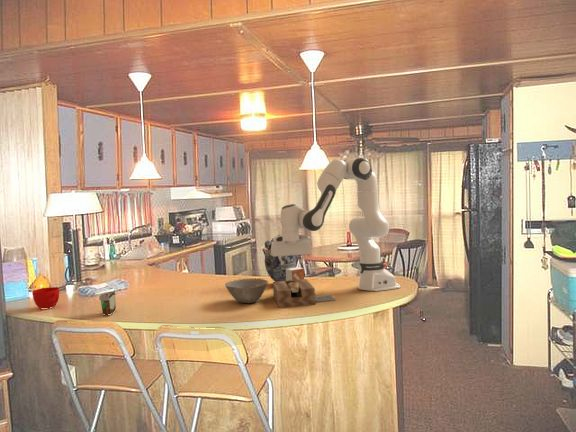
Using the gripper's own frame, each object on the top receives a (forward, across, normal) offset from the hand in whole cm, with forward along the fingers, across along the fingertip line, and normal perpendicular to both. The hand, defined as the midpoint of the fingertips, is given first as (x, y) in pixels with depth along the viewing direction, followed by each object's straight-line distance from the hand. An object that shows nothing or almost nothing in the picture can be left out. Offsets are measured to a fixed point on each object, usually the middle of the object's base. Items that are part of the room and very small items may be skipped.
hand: (291, 264), depth 250 cm
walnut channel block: (+19, 0, -1) cm, 19 cm away
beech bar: (+13, 0, +1) cm, 13 cm away
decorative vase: (+19, +1, -43) cm, 47 cm away
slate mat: (+19, -15, +2) cm, 24 cm away
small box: (+19, -4, -20) cm, 28 cm away
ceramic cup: (+20, +128, -31) cm, 133 cm away
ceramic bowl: (+19, +23, -7) cm, 31 cm away
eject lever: (+15, 0, -1) cm, 15 cm away
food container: (+19, +93, -7) cm, 95 cm away
